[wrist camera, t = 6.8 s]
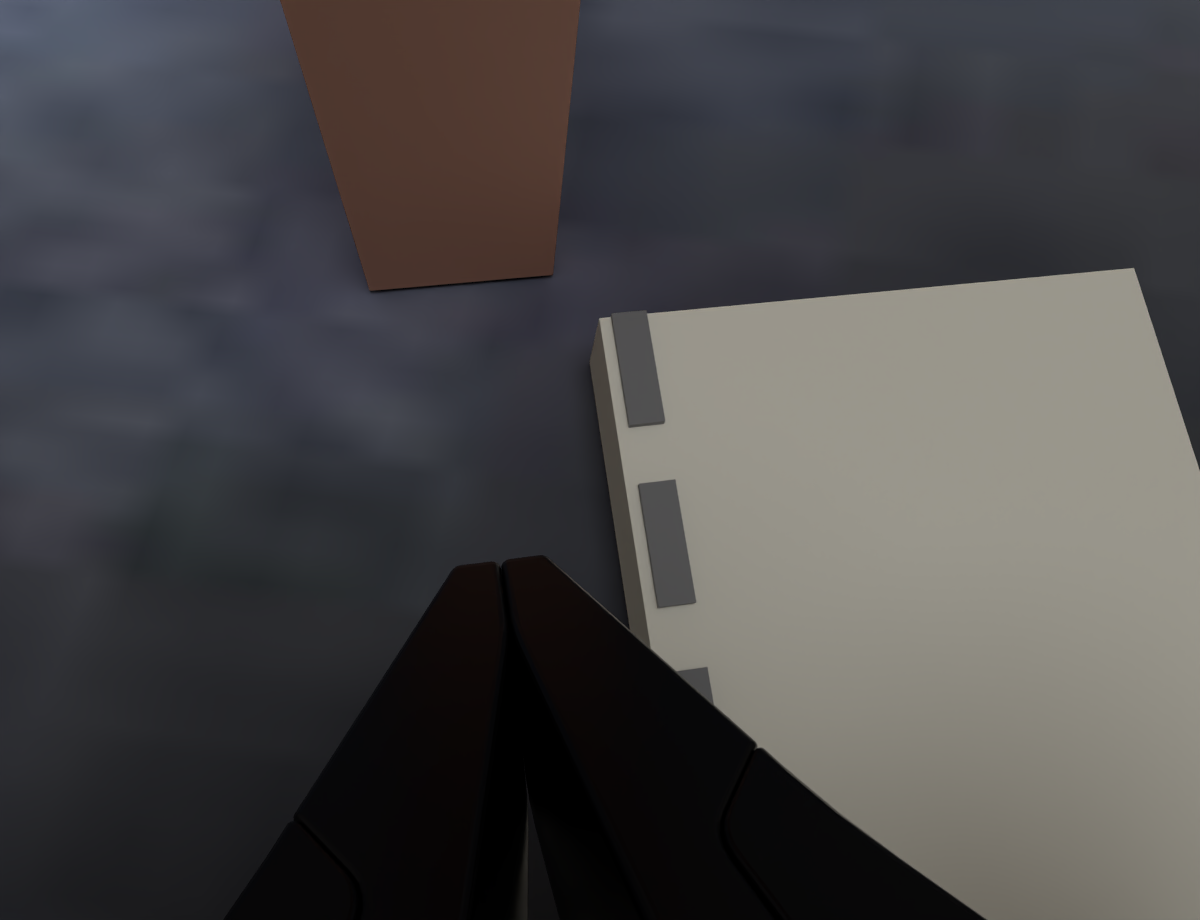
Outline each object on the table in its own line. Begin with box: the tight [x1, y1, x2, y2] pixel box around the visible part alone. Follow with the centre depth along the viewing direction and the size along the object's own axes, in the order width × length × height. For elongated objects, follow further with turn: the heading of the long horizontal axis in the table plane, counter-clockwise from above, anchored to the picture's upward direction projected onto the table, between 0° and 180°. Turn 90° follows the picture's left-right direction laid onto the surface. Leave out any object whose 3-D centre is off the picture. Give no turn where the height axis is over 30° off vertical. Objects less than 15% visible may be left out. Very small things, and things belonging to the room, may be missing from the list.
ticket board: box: [589, 268, 1200, 920], centre depth 16 cm, size 14×10×2 cm
